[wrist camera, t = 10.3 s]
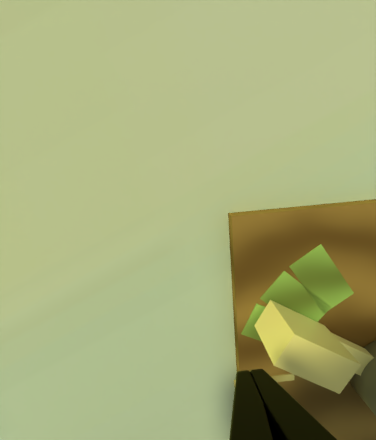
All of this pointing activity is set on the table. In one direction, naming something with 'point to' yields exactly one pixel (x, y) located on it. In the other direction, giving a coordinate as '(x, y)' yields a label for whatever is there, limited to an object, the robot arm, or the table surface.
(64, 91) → the table surface
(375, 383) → the peg lever
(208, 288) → the table surface
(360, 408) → the brown flat wooden board
